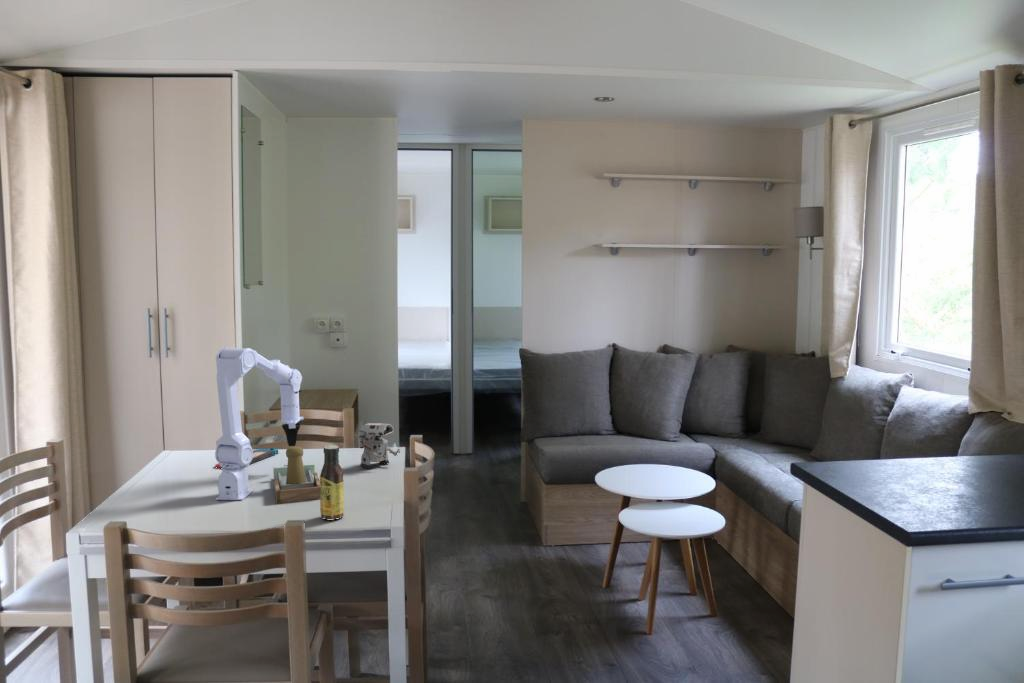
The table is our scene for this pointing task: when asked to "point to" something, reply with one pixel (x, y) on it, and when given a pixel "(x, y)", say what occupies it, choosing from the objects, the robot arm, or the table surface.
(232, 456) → the robot arm
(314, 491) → the caddy
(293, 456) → the cork
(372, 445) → the figurine
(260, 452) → the gaming console
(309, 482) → the drawer
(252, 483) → the table surface
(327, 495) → the sauce bottle
